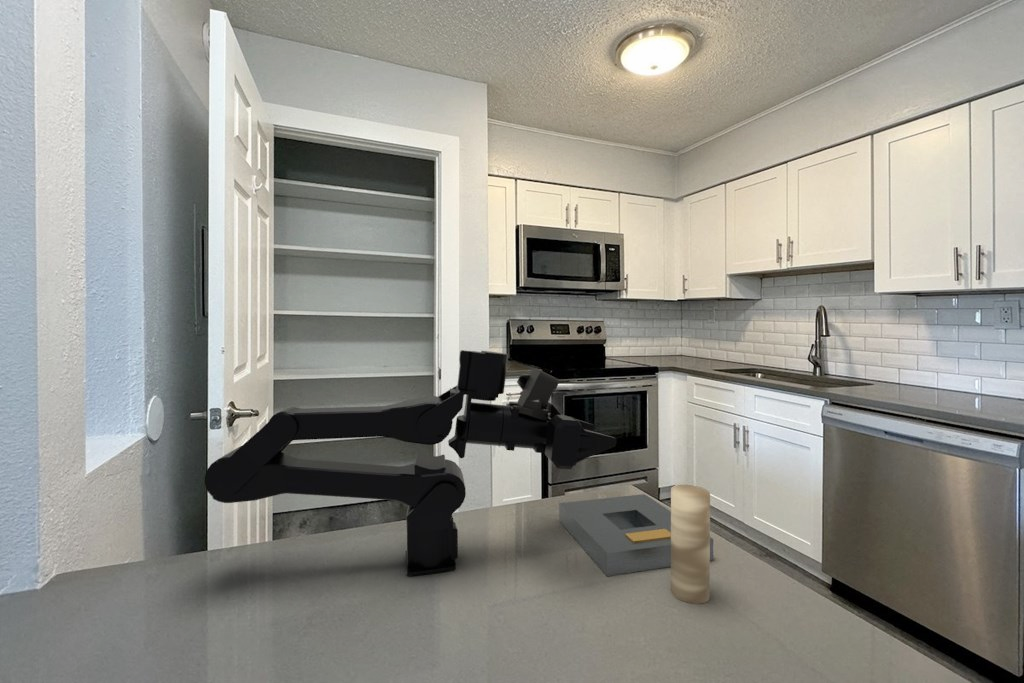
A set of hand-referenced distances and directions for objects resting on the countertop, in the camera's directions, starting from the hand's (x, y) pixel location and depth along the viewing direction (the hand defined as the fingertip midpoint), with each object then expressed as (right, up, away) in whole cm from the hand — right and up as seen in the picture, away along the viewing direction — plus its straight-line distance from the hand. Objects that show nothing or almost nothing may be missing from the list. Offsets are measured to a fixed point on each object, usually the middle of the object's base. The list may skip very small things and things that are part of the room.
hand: (603, 434), depth 67 cm
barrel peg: (+8, -17, -12) cm, 22 cm away
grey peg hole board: (+4, -16, +3) cm, 17 cm away
